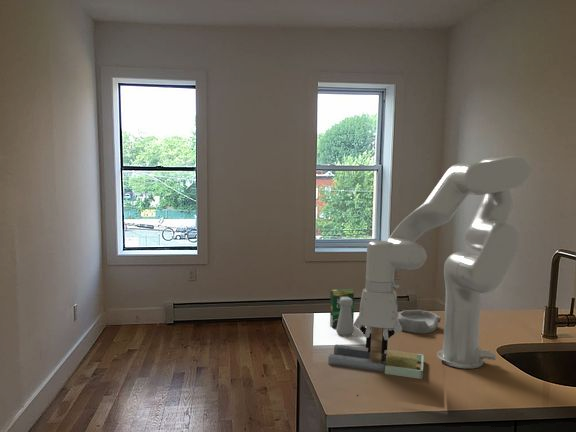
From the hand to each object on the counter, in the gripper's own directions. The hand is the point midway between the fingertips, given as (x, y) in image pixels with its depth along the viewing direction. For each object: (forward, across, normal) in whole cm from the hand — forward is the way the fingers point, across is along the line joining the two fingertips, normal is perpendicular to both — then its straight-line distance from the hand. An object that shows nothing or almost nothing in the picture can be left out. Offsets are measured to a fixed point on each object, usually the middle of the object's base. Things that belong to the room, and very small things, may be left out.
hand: (376, 350), depth 130 cm
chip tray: (+5, -8, 0) cm, 9 cm away
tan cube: (+4, -5, 0) cm, 6 cm away
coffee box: (+5, +15, -31) cm, 35 cm away
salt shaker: (+5, +12, -21) cm, 25 cm away
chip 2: (+4, -9, 0) cm, 10 cm away
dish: (+5, -10, -39) cm, 41 cm away
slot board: (+5, +5, 0) cm, 7 cm away
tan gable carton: (+3, 0, 0) cm, 3 cm away
